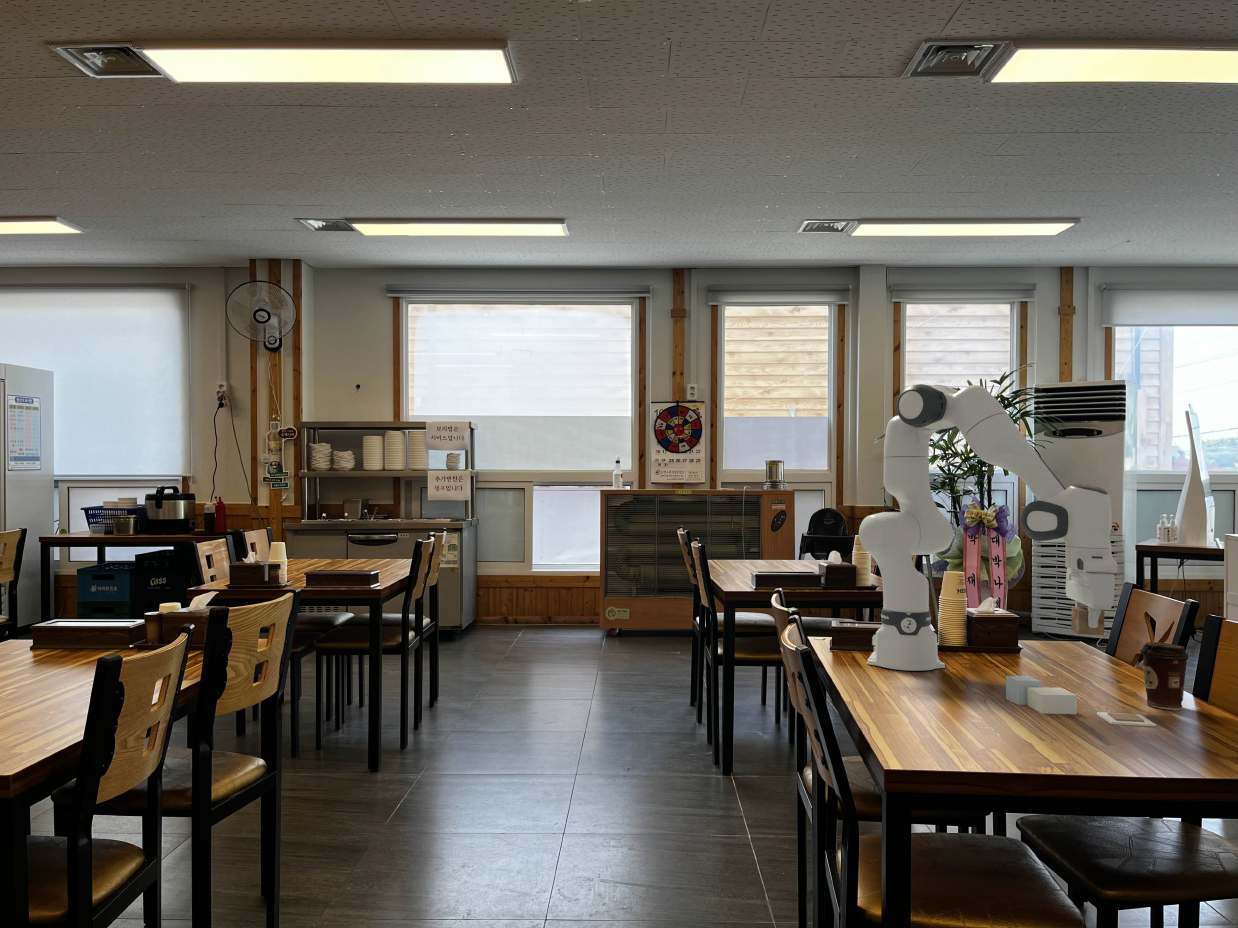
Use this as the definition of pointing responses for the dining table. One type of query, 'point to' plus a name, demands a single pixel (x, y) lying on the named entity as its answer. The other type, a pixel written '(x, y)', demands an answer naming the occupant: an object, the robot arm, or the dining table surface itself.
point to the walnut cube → (1085, 622)
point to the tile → (1126, 719)
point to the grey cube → (1019, 688)
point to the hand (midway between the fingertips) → (1087, 624)
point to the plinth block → (1051, 700)
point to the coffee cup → (1164, 674)
